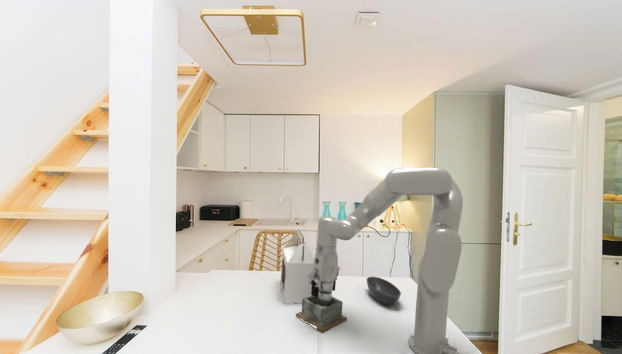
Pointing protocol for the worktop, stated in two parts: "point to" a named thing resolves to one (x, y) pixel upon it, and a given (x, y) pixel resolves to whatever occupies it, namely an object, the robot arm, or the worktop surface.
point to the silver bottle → (325, 293)
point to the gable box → (296, 270)
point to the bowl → (383, 291)
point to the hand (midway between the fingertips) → (323, 292)
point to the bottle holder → (322, 313)
